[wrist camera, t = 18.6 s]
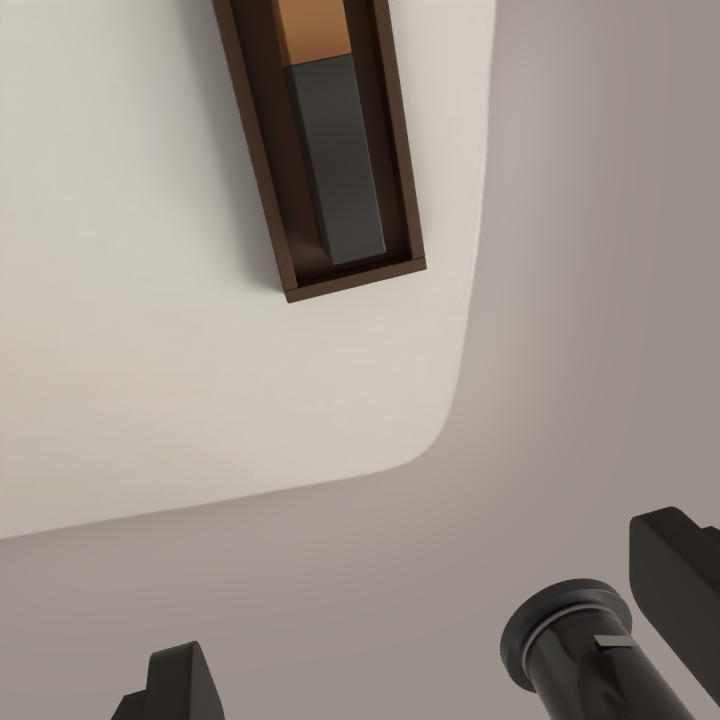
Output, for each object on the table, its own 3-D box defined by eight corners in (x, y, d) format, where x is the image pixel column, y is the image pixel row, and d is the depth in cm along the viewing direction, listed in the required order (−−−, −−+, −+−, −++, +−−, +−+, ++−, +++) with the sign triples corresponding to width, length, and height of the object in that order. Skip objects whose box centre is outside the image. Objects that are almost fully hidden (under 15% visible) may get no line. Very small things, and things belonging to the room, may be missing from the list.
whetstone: (369, 237, 39) (386, 252, 35) (321, 248, 38) (333, 265, 35) (294, -174, 30) (306, -210, 27) (232, -165, 30) (235, -199, 26)
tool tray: (417, 261, 40) (427, 269, 39) (284, 294, 39) (288, 304, 38) (342, -239, 30) (350, -260, 28) (159, -213, 29) (155, -233, 27)
